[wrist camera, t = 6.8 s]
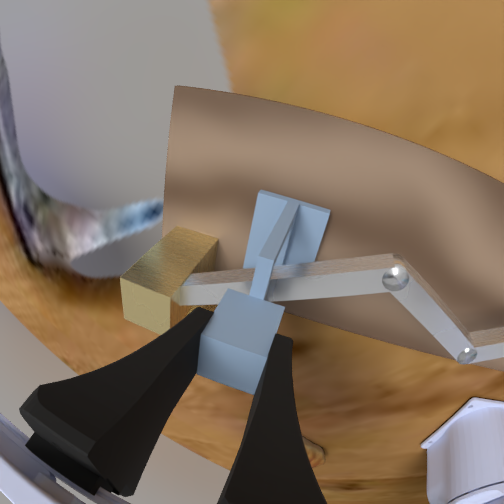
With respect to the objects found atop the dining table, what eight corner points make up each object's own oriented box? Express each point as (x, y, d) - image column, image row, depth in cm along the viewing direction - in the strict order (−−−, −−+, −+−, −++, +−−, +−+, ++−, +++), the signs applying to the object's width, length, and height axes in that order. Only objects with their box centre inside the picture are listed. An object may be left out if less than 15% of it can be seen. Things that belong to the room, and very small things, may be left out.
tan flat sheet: (525, 372, 19) (526, 376, 18) (164, 266, 24) (161, 269, 23) (605, 249, 12) (608, 252, 11) (179, 85, 17) (174, 85, 16)
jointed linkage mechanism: (577, 313, 14) (607, 369, 9) (176, 271, 23) (127, 328, 17) (603, 253, 12) (645, 304, 6) (164, 199, 20) (102, 245, 15)
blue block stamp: (330, 208, 17) (307, 325, 9) (301, 295, 20) (263, 422, 12) (261, 187, 18) (181, 283, 10) (243, 276, 21) (178, 391, 13)
